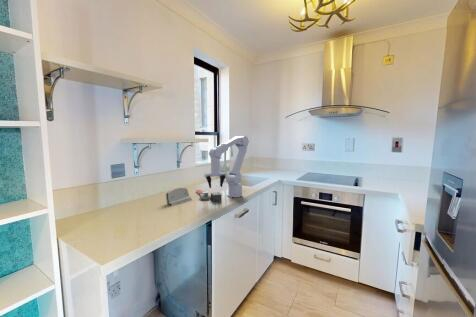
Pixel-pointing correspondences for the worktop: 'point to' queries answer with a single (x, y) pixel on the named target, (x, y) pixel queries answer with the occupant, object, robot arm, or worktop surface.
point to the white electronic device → (177, 196)
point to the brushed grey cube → (216, 197)
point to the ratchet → (203, 195)
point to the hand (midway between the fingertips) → (215, 187)
